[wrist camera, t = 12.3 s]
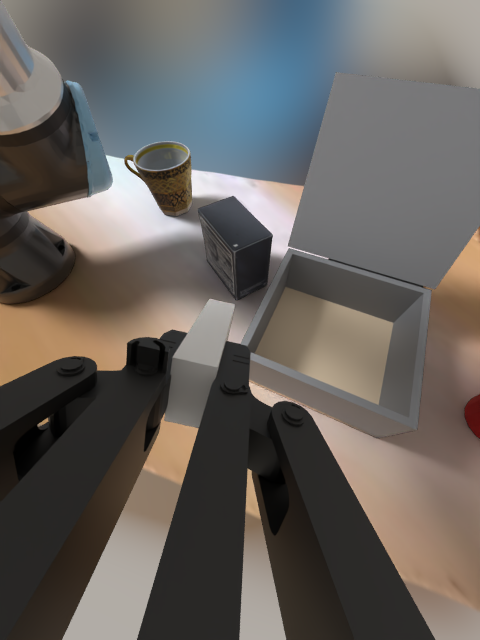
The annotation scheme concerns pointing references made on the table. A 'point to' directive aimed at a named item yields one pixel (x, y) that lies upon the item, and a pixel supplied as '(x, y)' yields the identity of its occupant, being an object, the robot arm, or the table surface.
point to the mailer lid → (393, 178)
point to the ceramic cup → (166, 175)
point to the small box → (236, 246)
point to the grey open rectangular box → (342, 343)
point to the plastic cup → (473, 415)
